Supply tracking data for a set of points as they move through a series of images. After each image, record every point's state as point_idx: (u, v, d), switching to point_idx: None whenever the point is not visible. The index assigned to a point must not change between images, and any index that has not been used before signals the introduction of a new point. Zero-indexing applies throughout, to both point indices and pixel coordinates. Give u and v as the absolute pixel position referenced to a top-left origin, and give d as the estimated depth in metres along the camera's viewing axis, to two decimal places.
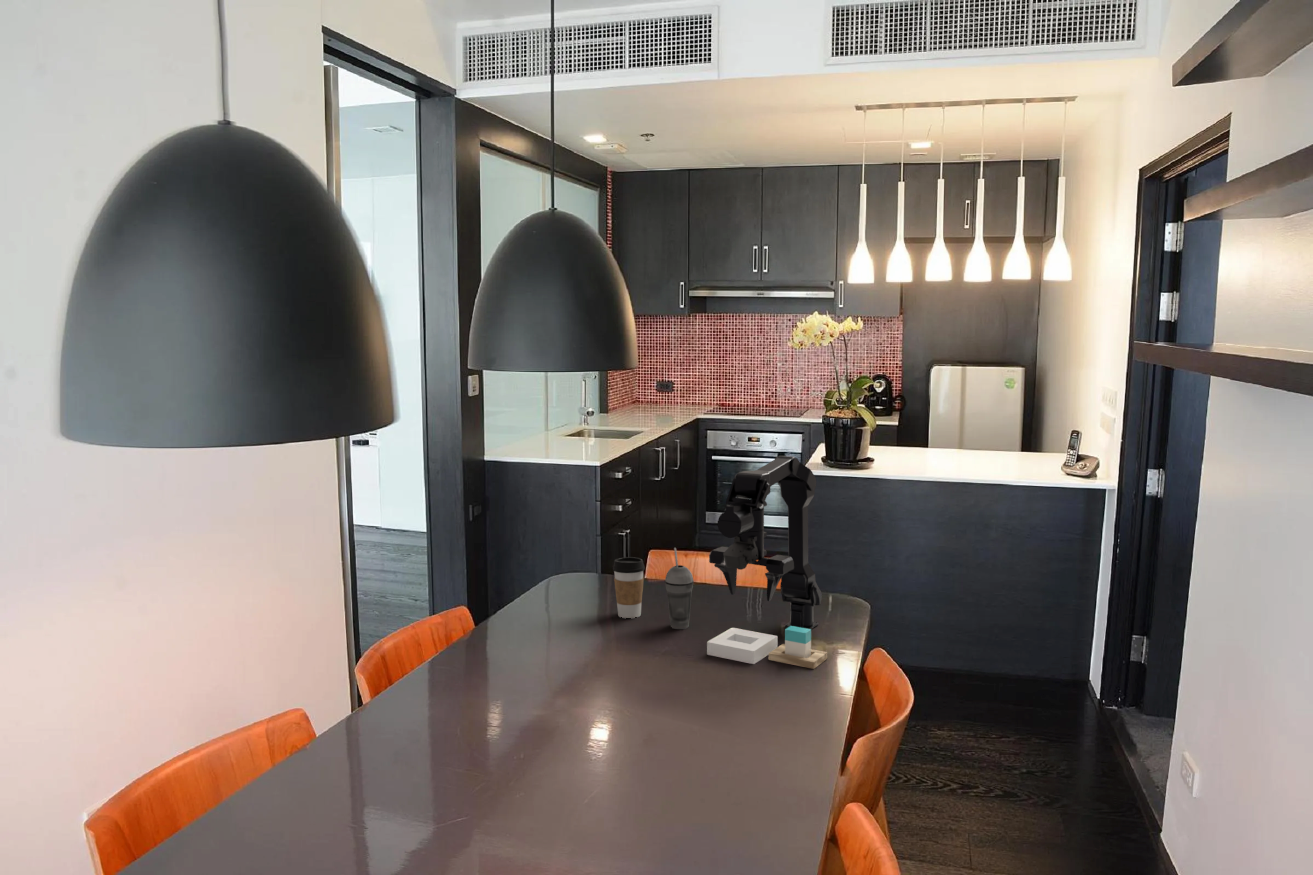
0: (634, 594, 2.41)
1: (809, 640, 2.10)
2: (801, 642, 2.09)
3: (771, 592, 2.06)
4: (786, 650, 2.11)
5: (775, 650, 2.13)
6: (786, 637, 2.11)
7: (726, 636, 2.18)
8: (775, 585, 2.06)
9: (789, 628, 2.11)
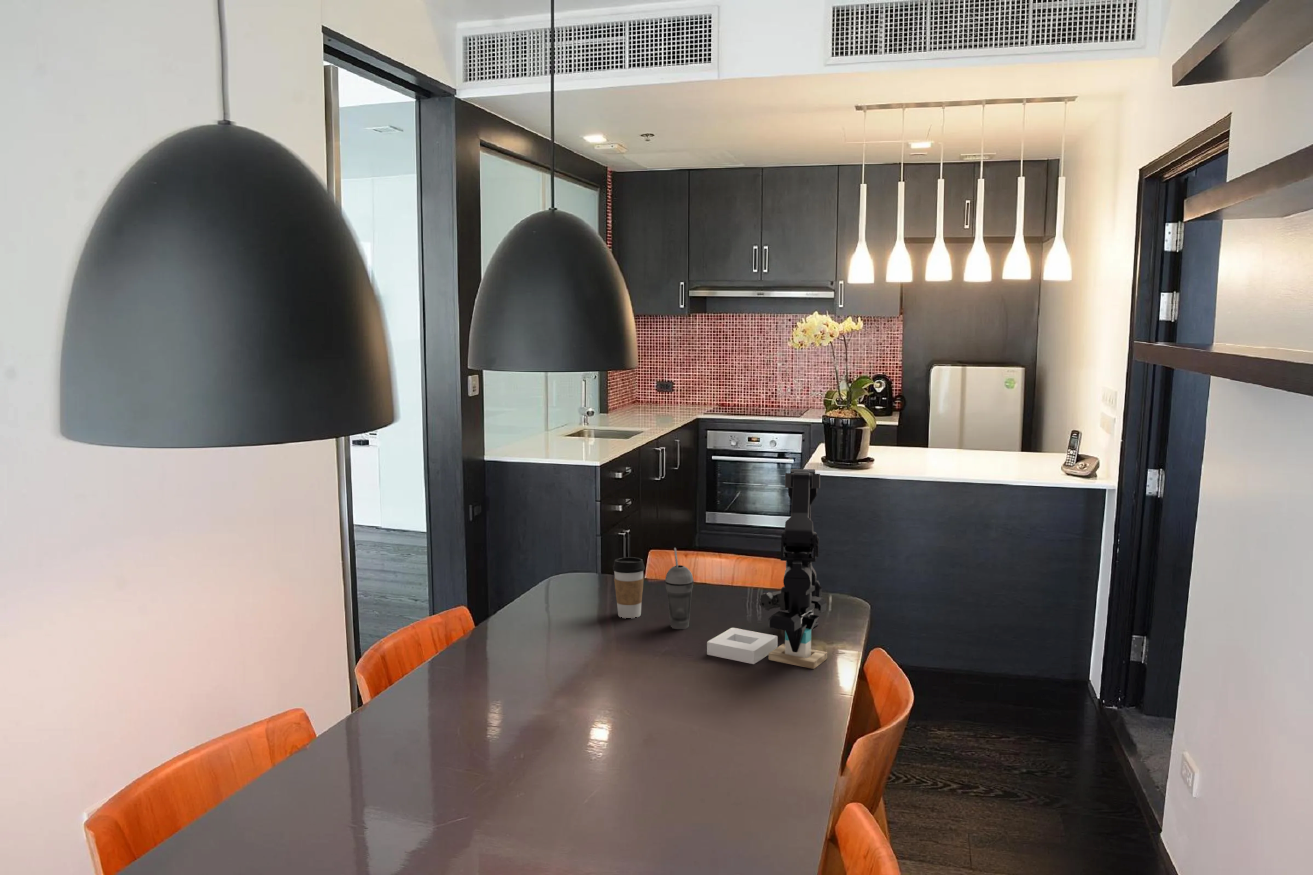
0: (634, 594, 2.41)
1: (809, 640, 2.10)
2: (801, 642, 2.09)
3: (791, 643, 2.09)
4: (786, 650, 2.11)
5: (775, 650, 2.13)
6: (786, 637, 2.11)
7: (726, 636, 2.18)
8: (795, 638, 2.08)
9: None
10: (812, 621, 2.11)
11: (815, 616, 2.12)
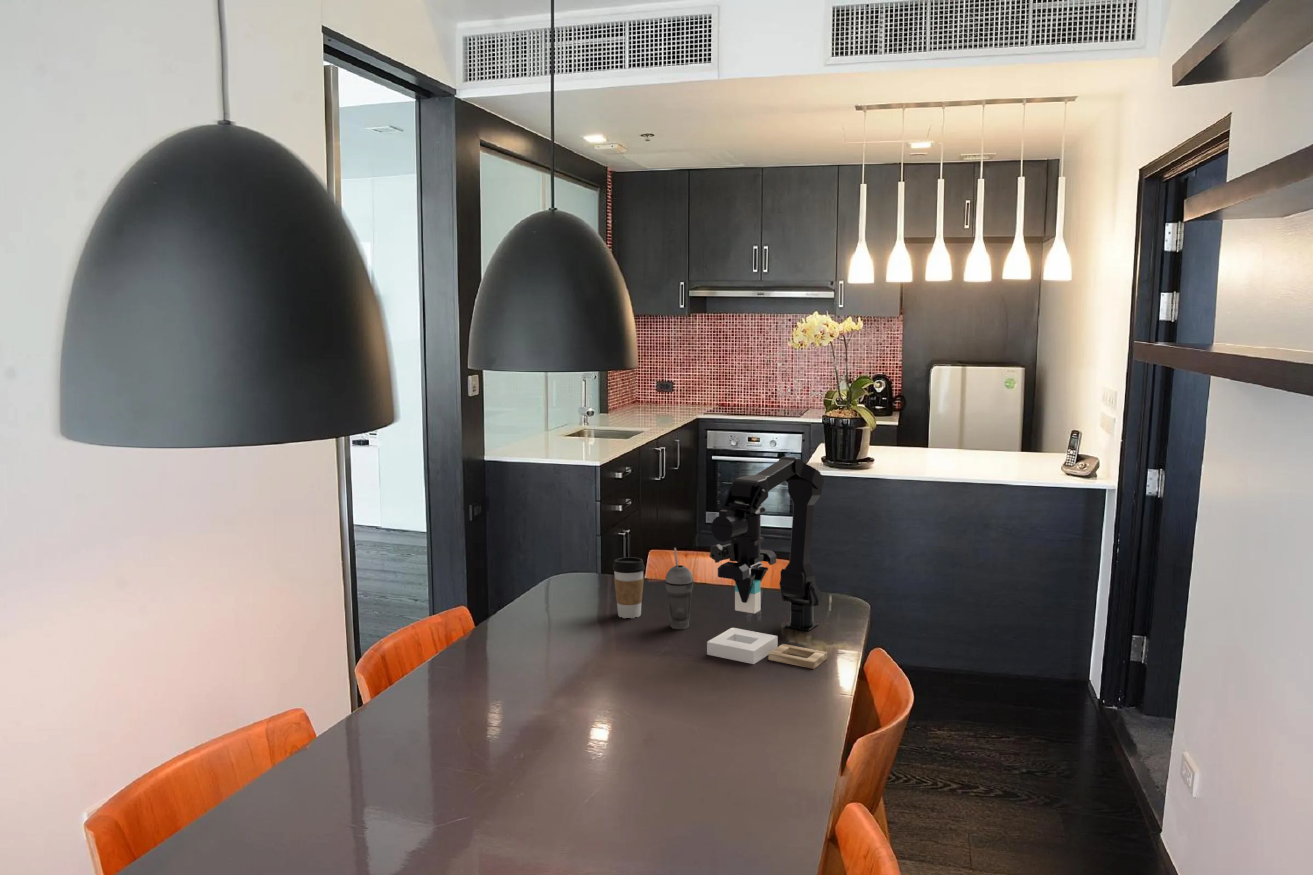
0: (634, 594, 2.41)
1: (758, 590, 2.13)
2: (750, 592, 2.12)
3: (741, 594, 2.13)
4: (736, 601, 2.15)
5: (775, 650, 2.13)
6: (735, 588, 2.14)
7: (726, 636, 2.18)
8: (744, 589, 2.12)
9: None
10: (761, 572, 2.14)
11: (764, 568, 2.16)
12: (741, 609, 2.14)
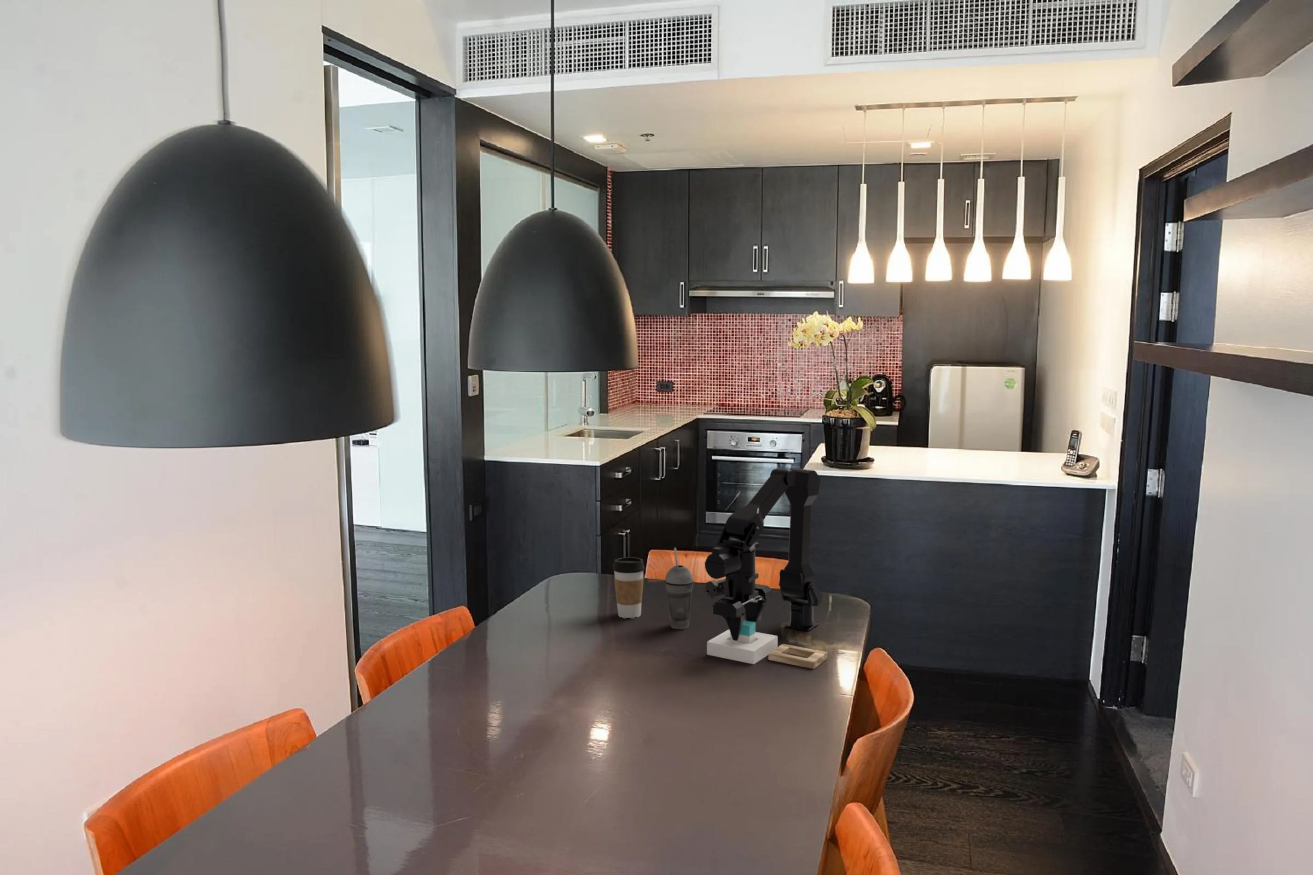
0: (634, 594, 2.41)
1: (753, 632, 2.15)
2: (745, 635, 2.14)
3: (731, 632, 2.13)
4: None
5: (775, 650, 2.13)
6: None
7: (726, 636, 2.18)
8: (735, 627, 2.12)
9: None
10: (760, 606, 2.18)
11: (763, 601, 2.19)
12: None
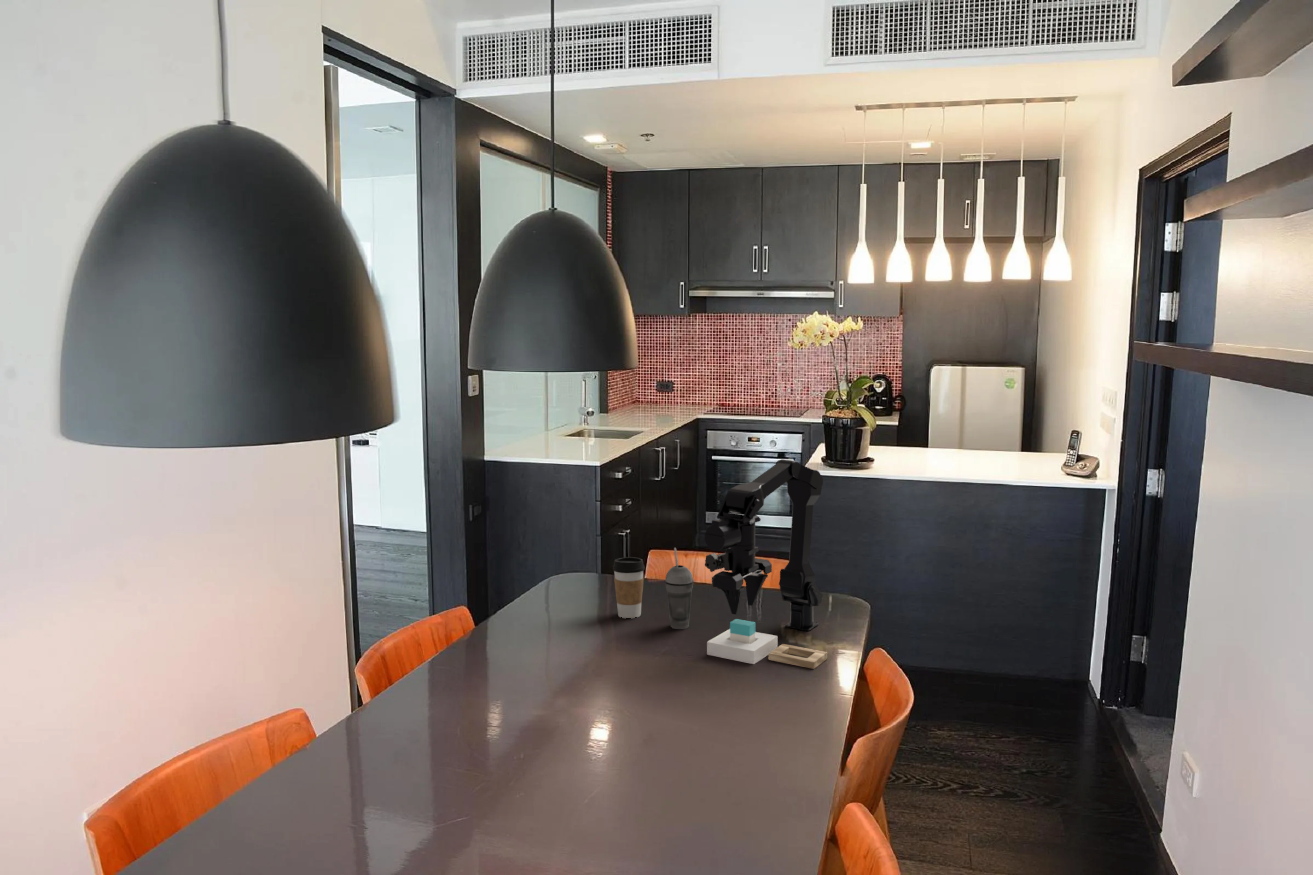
0: (634, 594, 2.41)
1: (753, 632, 2.15)
2: (745, 635, 2.14)
3: (731, 605, 2.12)
4: None
5: (775, 650, 2.13)
6: (730, 630, 2.16)
7: (726, 636, 2.18)
8: (734, 601, 2.11)
9: (734, 621, 2.17)
10: (761, 579, 2.17)
11: (763, 575, 2.19)
12: None
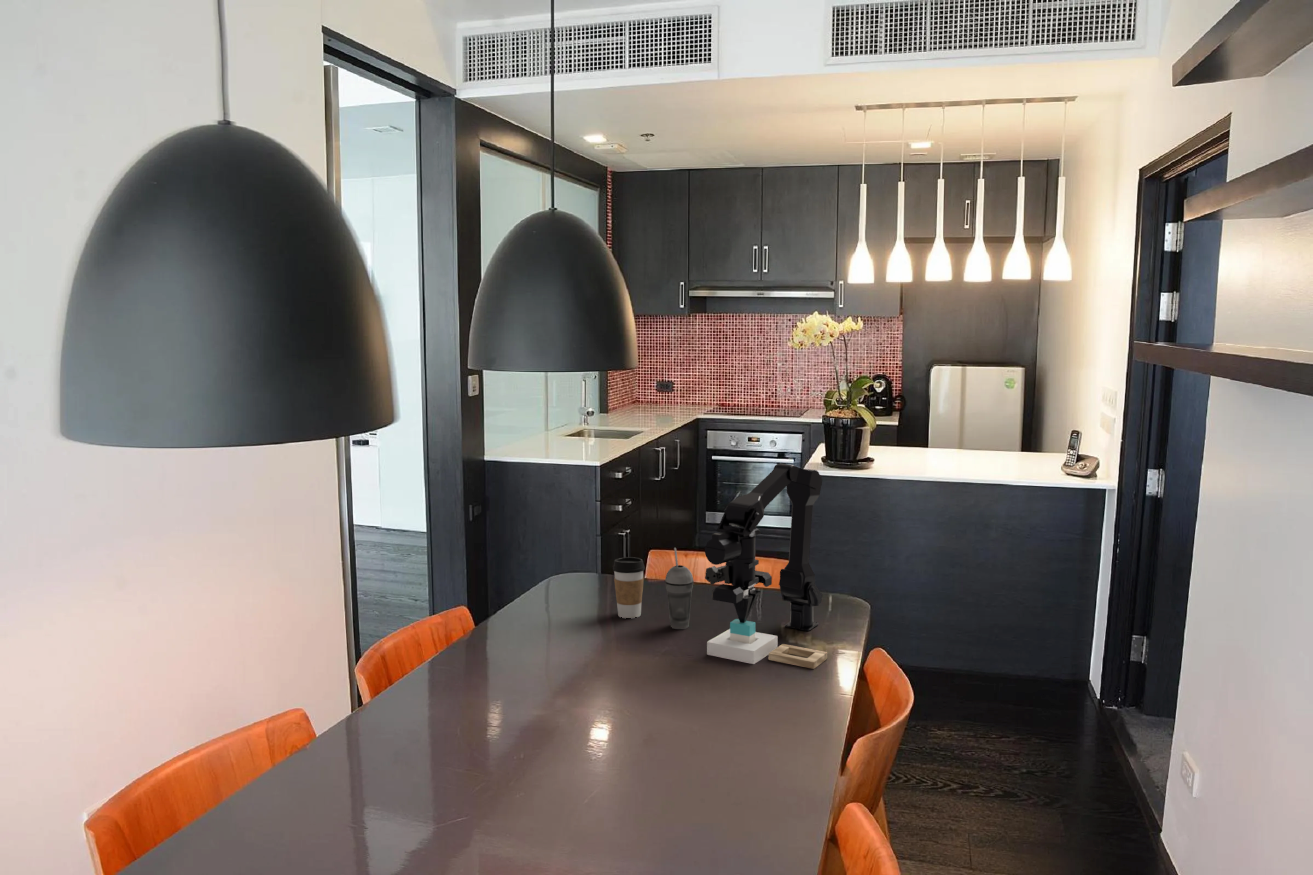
0: (634, 594, 2.41)
1: (753, 632, 2.15)
2: (745, 635, 2.14)
3: (739, 614, 2.15)
4: None
5: (775, 650, 2.13)
6: (731, 630, 2.16)
7: (726, 636, 2.18)
8: (742, 609, 2.14)
9: (734, 621, 2.17)
10: (753, 596, 2.14)
11: (756, 592, 2.16)
12: None
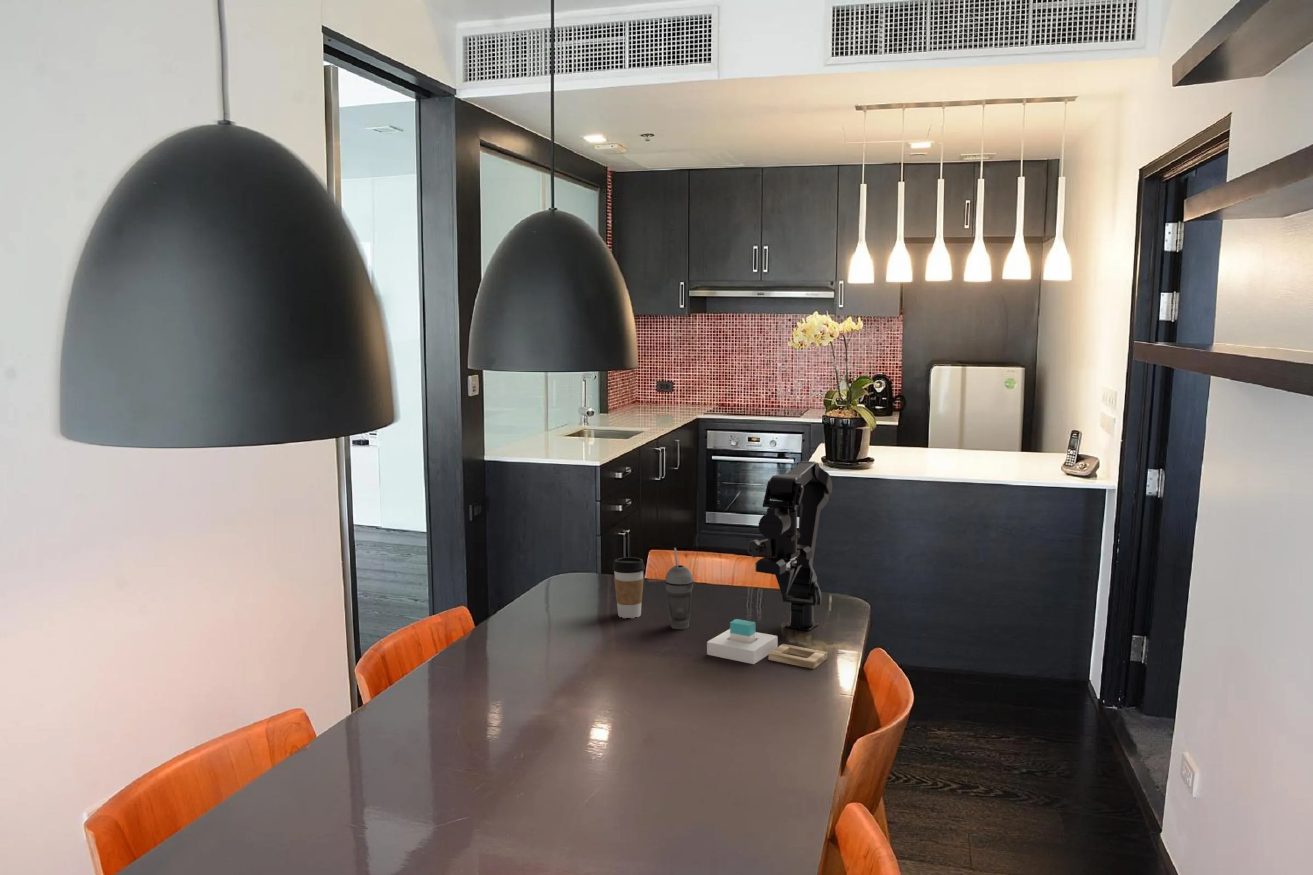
0: (634, 594, 2.41)
1: (753, 632, 2.15)
2: (745, 635, 2.14)
3: (780, 586, 2.20)
4: None
5: (775, 650, 2.13)
6: (731, 630, 2.16)
7: (726, 636, 2.18)
8: (784, 582, 2.19)
9: (734, 621, 2.17)
10: (795, 568, 2.19)
11: (798, 564, 2.20)
12: None
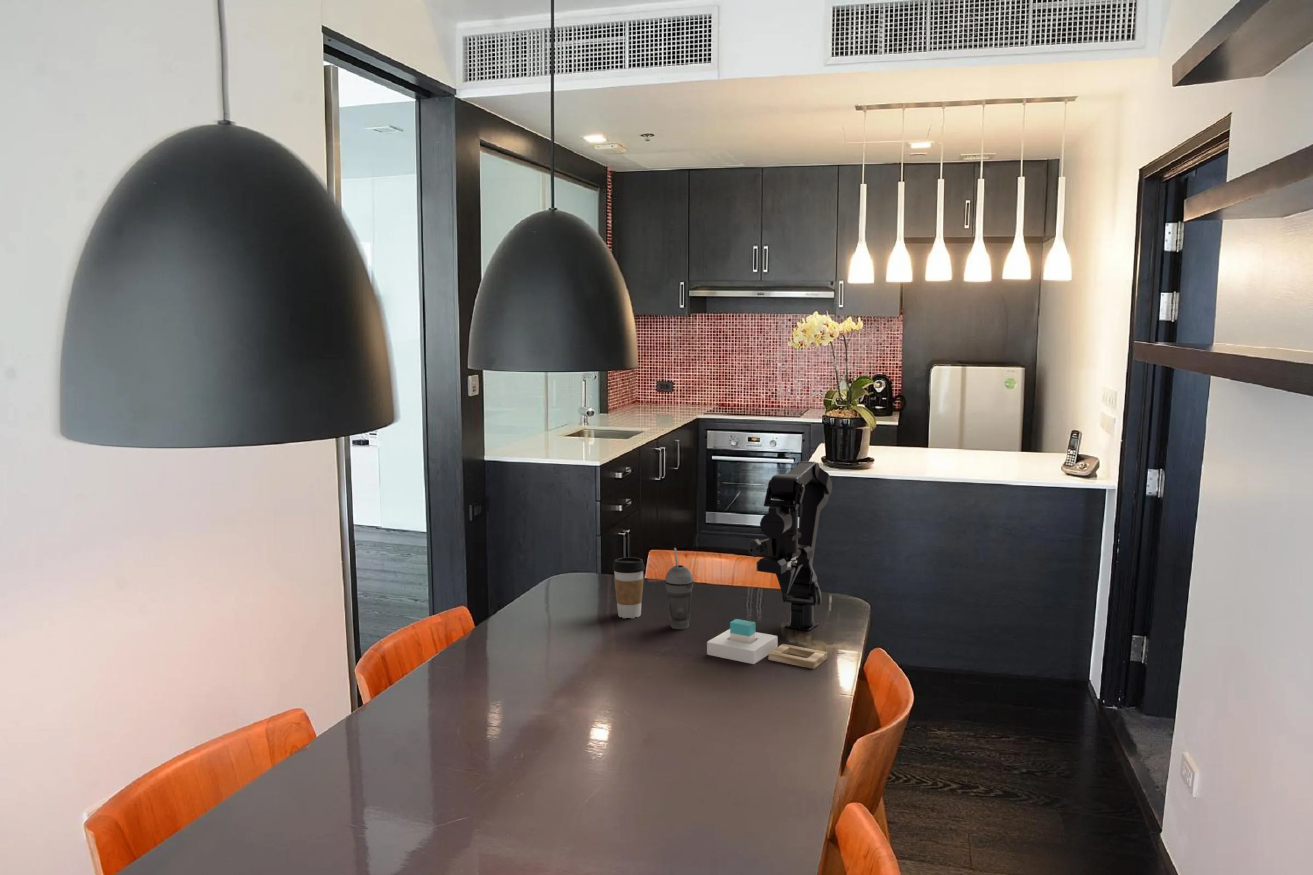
0: (634, 594, 2.41)
1: (753, 632, 2.15)
2: (745, 635, 2.14)
3: (781, 586, 2.20)
4: None
5: (775, 650, 2.13)
6: (731, 630, 2.16)
7: (726, 636, 2.18)
8: (785, 581, 2.18)
9: (734, 621, 2.17)
10: (796, 568, 2.19)
11: (798, 564, 2.20)
12: None
